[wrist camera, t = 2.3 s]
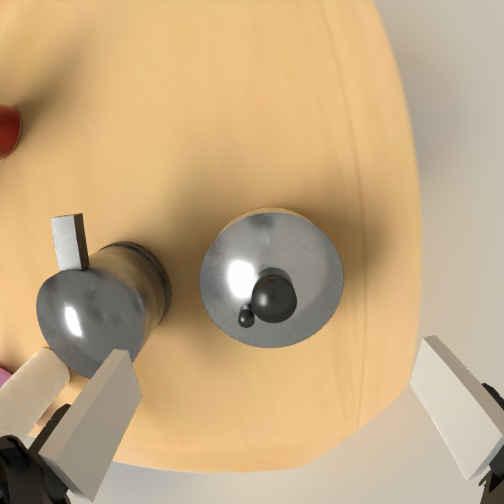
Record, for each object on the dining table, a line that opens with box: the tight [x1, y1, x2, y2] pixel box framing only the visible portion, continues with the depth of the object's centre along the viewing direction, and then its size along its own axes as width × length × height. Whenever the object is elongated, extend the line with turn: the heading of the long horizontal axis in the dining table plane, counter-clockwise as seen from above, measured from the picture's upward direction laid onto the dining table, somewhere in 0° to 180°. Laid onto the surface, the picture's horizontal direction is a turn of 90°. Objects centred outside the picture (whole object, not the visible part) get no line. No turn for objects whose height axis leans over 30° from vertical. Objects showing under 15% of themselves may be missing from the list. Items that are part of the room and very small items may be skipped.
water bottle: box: [0, 348, 70, 442], centre depth 20 cm, size 9×6×25 cm
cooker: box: [36, 213, 171, 379], centre depth 23 cm, size 18×10×10 cm, turn 3°
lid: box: [199, 207, 344, 348], centre depth 22 cm, size 11×11×7 cm
